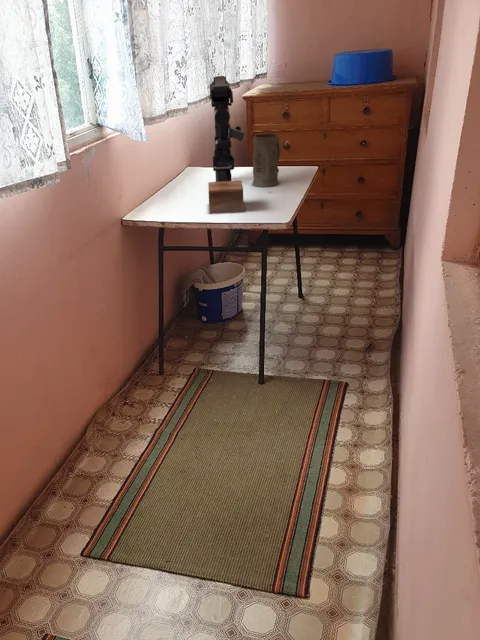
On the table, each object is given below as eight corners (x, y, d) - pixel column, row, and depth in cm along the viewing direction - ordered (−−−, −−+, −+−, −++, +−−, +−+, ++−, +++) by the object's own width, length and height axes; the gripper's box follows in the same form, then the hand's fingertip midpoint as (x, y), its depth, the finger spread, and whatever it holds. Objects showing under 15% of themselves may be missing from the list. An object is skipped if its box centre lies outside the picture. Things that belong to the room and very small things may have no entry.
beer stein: (270, 188, 251) (272, 136, 242) (247, 186, 256) (248, 135, 247) (286, 182, 262) (288, 132, 253) (263, 180, 267) (265, 131, 258)
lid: (243, 190, 219) (243, 188, 219) (208, 192, 220) (208, 190, 219) (241, 182, 230) (241, 180, 230) (208, 184, 231) (208, 182, 231)
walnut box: (243, 211, 224) (243, 190, 220) (209, 213, 224) (208, 192, 220) (241, 202, 234) (241, 182, 230) (209, 204, 235) (208, 184, 231)
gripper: (244, 123, 225) (244, 167, 233) (241, 116, 241) (242, 157, 249) (214, 125, 226) (216, 169, 234) (213, 118, 242) (215, 159, 250)
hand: (223, 163), depth 242 cm, fingers closed
